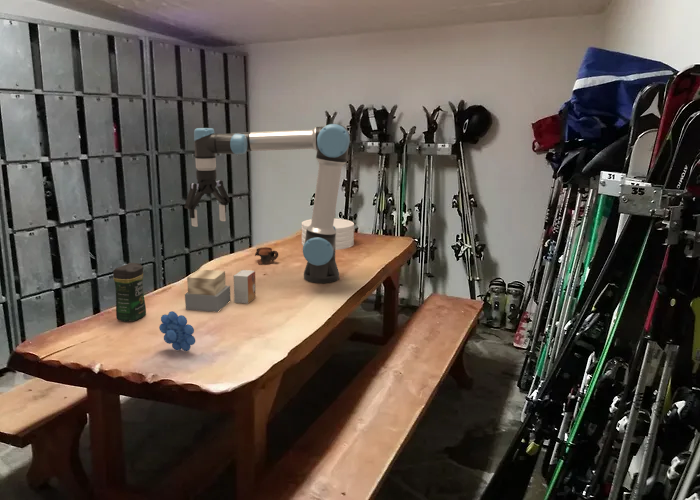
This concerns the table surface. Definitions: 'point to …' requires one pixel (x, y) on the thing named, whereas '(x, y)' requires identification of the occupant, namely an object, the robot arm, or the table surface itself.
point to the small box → (244, 286)
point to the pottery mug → (266, 255)
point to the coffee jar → (129, 292)
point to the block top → (206, 282)
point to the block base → (208, 301)
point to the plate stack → (342, 232)
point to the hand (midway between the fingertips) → (209, 223)
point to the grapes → (177, 331)
